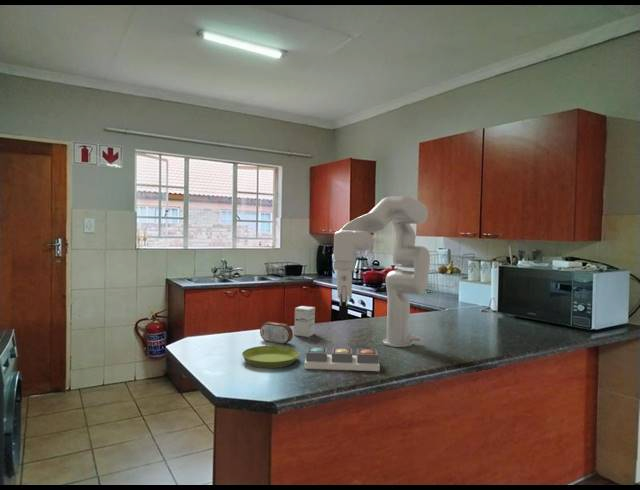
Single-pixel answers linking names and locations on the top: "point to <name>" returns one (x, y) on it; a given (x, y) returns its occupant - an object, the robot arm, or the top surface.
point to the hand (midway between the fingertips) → (343, 316)
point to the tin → (276, 332)
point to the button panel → (342, 360)
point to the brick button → (366, 352)
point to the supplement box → (304, 321)
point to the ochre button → (342, 351)
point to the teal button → (317, 350)
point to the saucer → (270, 356)
